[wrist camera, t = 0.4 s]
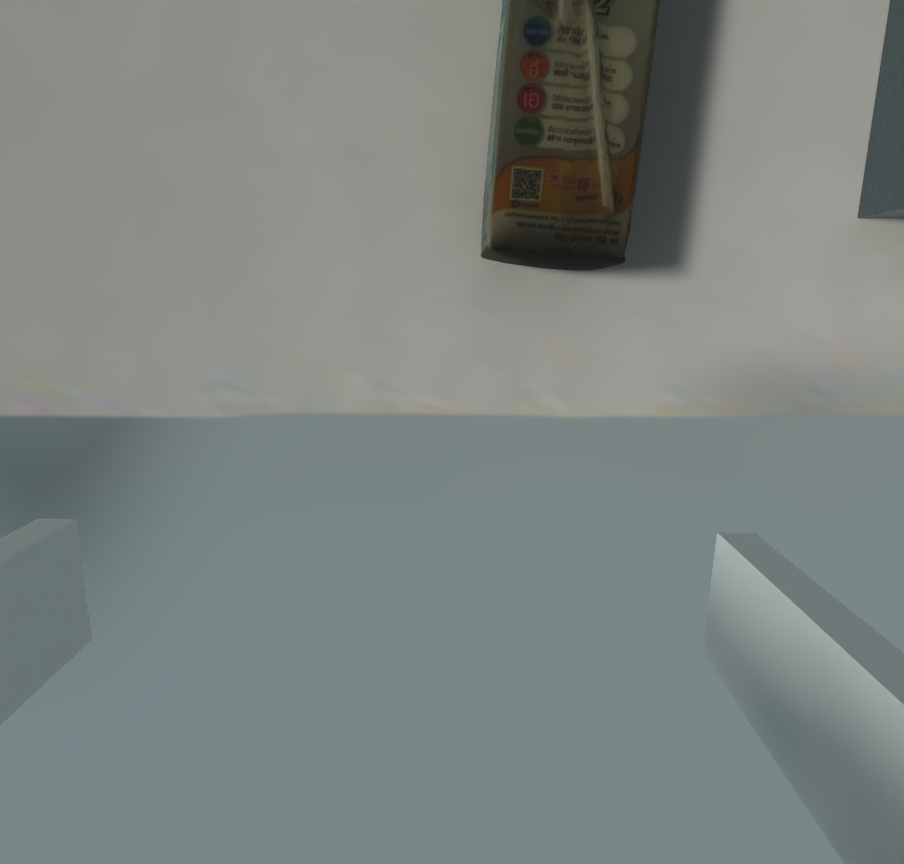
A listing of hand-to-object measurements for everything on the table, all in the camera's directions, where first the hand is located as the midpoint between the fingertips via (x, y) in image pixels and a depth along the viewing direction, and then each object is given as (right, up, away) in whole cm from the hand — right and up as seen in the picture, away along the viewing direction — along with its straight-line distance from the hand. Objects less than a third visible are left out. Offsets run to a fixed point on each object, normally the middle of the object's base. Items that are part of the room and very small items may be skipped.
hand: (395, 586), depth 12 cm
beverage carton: (+7, +23, +23) cm, 33 cm away
